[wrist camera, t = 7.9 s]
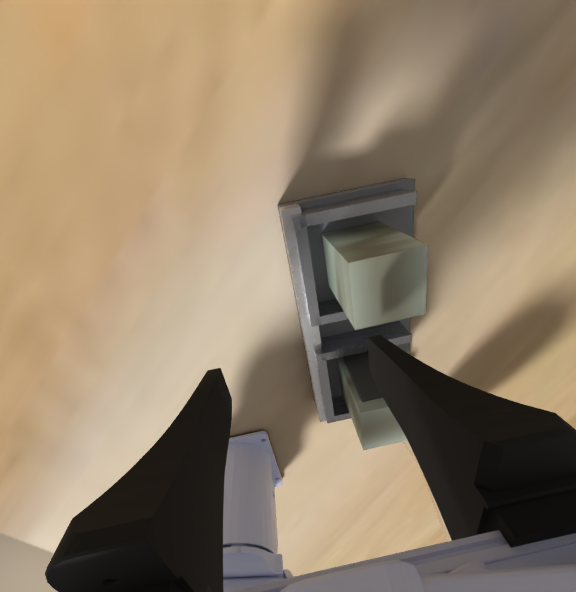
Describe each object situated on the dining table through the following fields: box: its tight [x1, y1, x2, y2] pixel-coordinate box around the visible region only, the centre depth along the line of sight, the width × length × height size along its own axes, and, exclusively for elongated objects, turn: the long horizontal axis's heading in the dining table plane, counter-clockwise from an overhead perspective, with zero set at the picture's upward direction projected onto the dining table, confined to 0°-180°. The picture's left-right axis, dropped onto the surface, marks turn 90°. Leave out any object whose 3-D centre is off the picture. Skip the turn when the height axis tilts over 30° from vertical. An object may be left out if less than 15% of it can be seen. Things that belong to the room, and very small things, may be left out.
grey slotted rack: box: [278, 178, 417, 450], centre depth 20 cm, size 19×9×7 cm, turn 10°
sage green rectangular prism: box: [322, 221, 428, 330], centre depth 17 cm, size 4×4×6 cm
